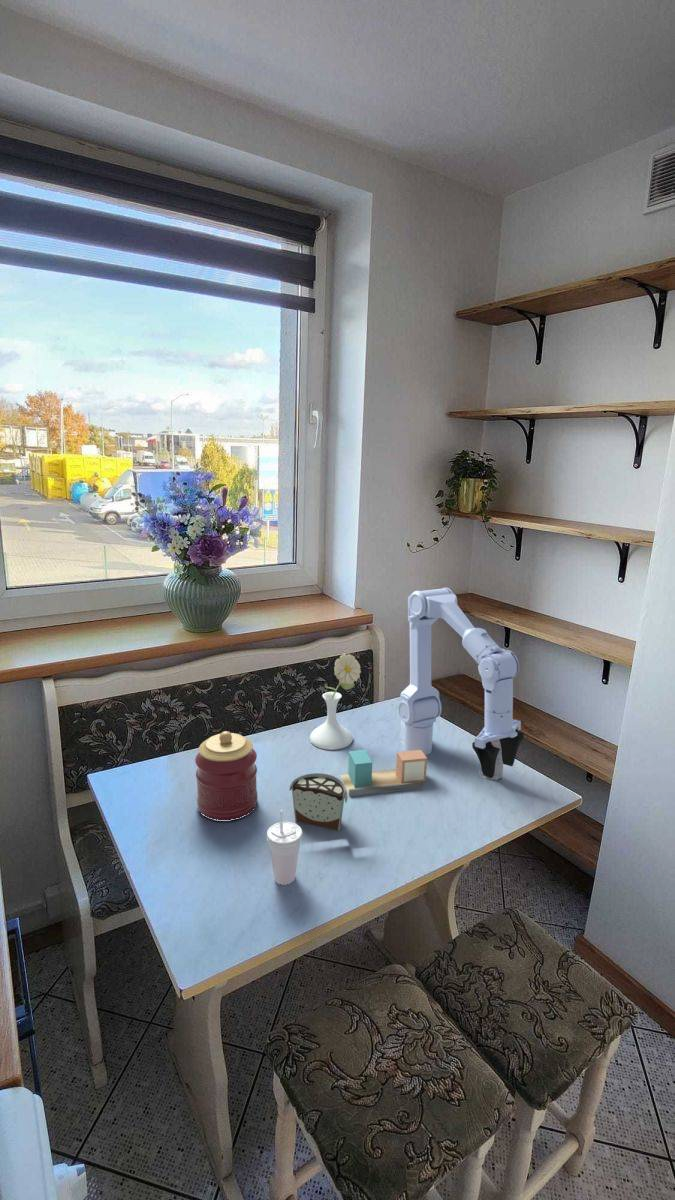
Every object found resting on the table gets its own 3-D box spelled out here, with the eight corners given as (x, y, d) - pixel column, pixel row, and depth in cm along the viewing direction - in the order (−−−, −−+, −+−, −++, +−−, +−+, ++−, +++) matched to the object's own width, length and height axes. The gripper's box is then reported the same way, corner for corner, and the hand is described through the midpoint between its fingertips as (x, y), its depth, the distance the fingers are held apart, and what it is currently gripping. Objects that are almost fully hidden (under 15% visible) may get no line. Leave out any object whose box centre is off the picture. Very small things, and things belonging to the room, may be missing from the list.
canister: (185, 805, 132) (181, 731, 127) (233, 782, 141) (231, 713, 137) (221, 831, 123) (218, 753, 119) (269, 805, 133) (269, 732, 128)
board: (339, 779, 143) (340, 769, 143) (408, 772, 147) (408, 762, 146) (349, 800, 135) (349, 790, 134) (421, 792, 139) (421, 782, 138)
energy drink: (499, 773, 147) (504, 728, 144) (503, 785, 142) (508, 739, 139) (477, 772, 148) (481, 727, 145) (480, 783, 143) (484, 737, 140)
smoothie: (267, 866, 113) (266, 800, 110) (301, 865, 114) (302, 799, 110) (266, 891, 107) (265, 822, 104) (302, 889, 108) (303, 821, 104)
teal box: (354, 787, 138) (355, 764, 136) (348, 774, 143) (348, 751, 142) (371, 786, 139) (372, 762, 137) (364, 772, 144) (365, 749, 143)
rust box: (395, 774, 143) (396, 752, 142) (419, 772, 145) (421, 749, 143) (401, 784, 140) (402, 760, 138) (425, 781, 141) (427, 758, 139)
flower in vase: (314, 756, 153) (315, 664, 147) (305, 735, 164) (306, 648, 158) (363, 751, 156) (366, 660, 150) (352, 731, 167) (354, 645, 161)
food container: (354, 820, 128) (355, 778, 125) (345, 837, 122) (346, 793, 120) (300, 808, 132) (300, 767, 129) (289, 824, 126) (289, 781, 124)
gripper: (496, 722, 119) (495, 787, 121) (533, 704, 129) (533, 765, 131) (466, 714, 124) (466, 777, 126) (504, 697, 134) (504, 756, 136)
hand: (498, 770), depth 129 cm, fingers open, 7 cm apart
